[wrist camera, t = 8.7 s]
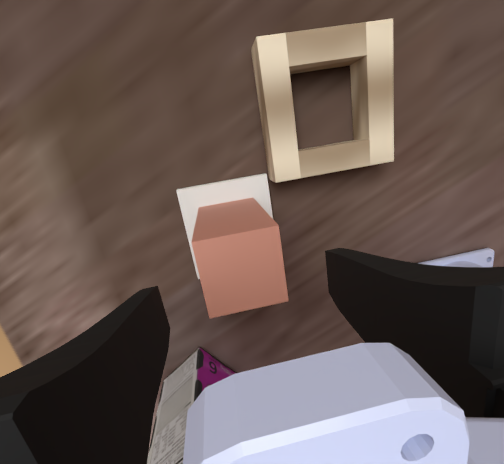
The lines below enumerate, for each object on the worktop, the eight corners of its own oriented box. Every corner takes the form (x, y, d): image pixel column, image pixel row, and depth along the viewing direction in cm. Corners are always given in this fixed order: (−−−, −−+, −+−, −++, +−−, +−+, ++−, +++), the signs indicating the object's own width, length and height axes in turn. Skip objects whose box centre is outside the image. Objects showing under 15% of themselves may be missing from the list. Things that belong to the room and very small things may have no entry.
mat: (277, 259, 23) (279, 262, 22) (198, 276, 22) (198, 279, 21) (265, 173, 20) (266, 174, 20) (177, 189, 20) (176, 190, 19)
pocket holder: (375, 160, 21) (393, 161, 19) (269, 179, 21) (275, 182, 19) (372, 33, 19) (392, 18, 17) (251, 50, 18) (256, 36, 16)
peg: (260, 247, 21) (288, 301, 14) (209, 258, 21) (209, 318, 14) (252, 197, 20) (278, 225, 13) (198, 207, 20) (191, 242, 12)
